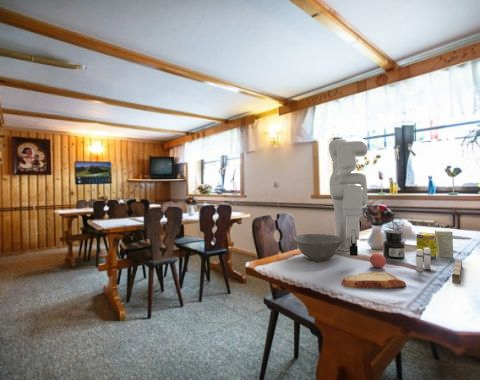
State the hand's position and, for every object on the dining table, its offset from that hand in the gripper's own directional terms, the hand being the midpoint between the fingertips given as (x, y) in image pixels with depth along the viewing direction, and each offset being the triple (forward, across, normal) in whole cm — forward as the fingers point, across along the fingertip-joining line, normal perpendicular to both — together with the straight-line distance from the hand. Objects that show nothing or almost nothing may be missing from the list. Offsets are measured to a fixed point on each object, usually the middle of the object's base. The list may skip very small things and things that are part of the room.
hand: (353, 255), depth 116 cm
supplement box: (+4, -24, +32) cm, 41 cm away
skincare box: (+4, -28, +40) cm, 49 cm away
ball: (+2, -1, +9) cm, 10 cm away
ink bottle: (+4, -21, +18) cm, 28 cm away
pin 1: (+5, -1, +24) cm, 25 cm away
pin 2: (+5, -4, +28) cm, 29 cm away
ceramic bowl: (+5, -8, -16) cm, 18 cm away
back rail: (+5, -1, +37) cm, 37 cm away
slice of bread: (+6, +20, +6) cm, 21 cm away
